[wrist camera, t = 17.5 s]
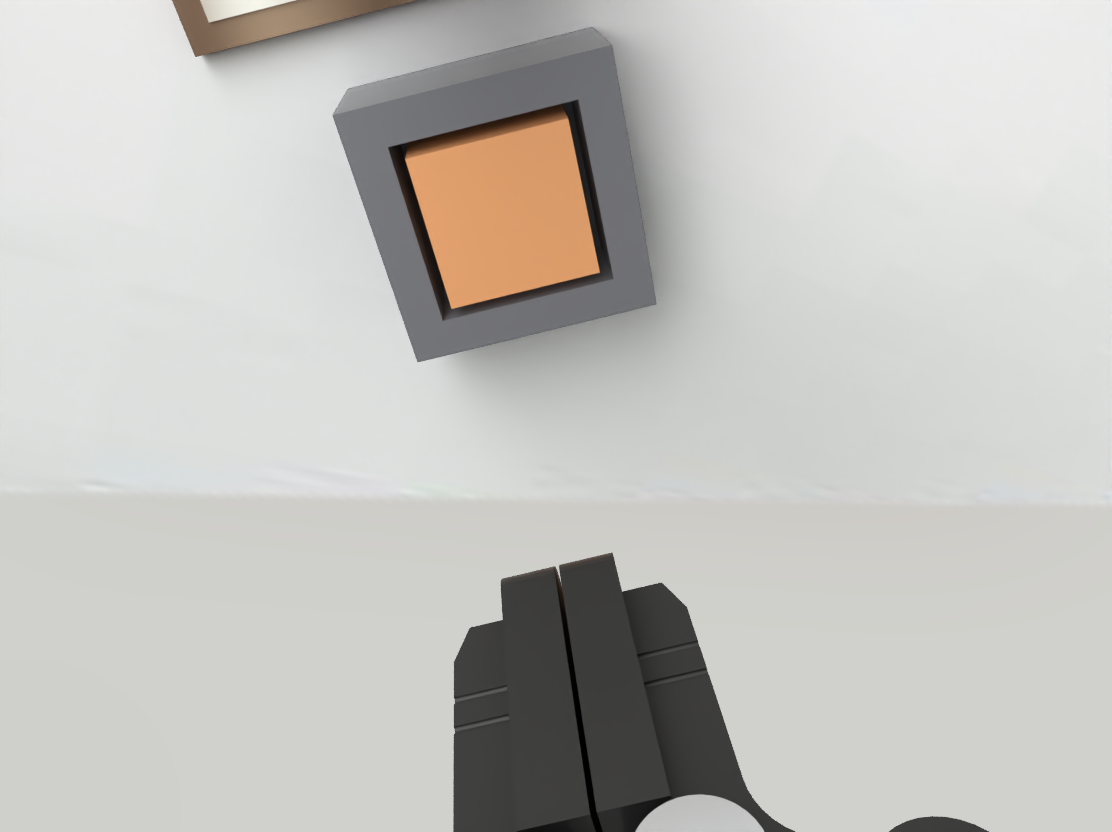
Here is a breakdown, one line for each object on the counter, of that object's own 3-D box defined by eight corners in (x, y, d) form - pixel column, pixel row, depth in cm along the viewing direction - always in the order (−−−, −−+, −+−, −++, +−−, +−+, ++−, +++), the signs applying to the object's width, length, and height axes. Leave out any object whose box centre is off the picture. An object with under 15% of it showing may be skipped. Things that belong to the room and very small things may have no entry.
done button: (452, 274, 30) (451, 309, 27) (410, 135, 27) (405, 159, 25) (587, 240, 30) (600, 272, 27) (557, 98, 27) (568, 118, 25)
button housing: (421, 312, 32) (417, 362, 28) (348, 89, 27) (332, 115, 24) (634, 260, 31) (656, 304, 28) (592, 26, 27) (611, 44, 24)
